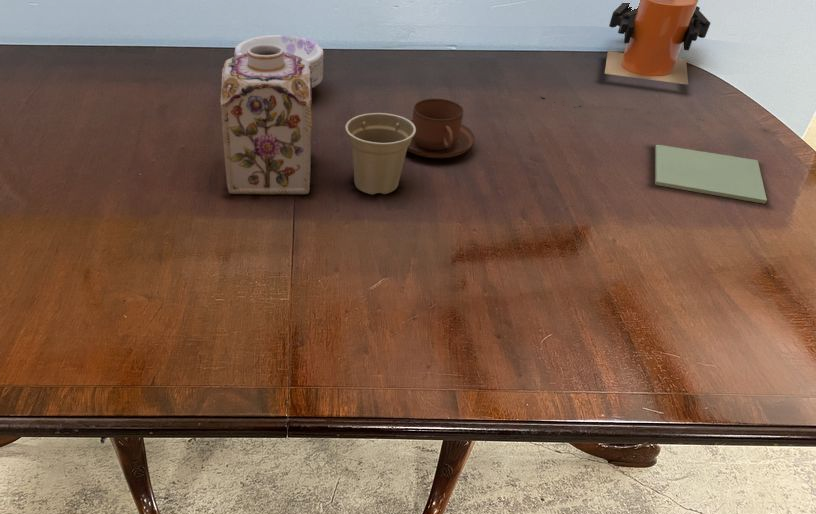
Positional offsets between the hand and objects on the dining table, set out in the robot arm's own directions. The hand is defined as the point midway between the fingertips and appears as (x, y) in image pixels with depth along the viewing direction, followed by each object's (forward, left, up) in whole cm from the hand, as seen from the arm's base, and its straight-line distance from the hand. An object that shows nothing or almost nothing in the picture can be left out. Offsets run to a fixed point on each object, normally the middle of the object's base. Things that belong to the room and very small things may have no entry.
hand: (658, 38), depth 116 cm
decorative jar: (+50, +54, -8) cm, 74 cm away
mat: (-9, +31, -8) cm, 34 cm away
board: (0, -5, -8) cm, 9 cm away
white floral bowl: (+60, +27, -8) cm, 66 cm away
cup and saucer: (+30, +37, -8) cm, 49 cm away
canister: (0, -5, -7) cm, 8 cm away
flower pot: (+35, +51, -8) cm, 63 cm away
